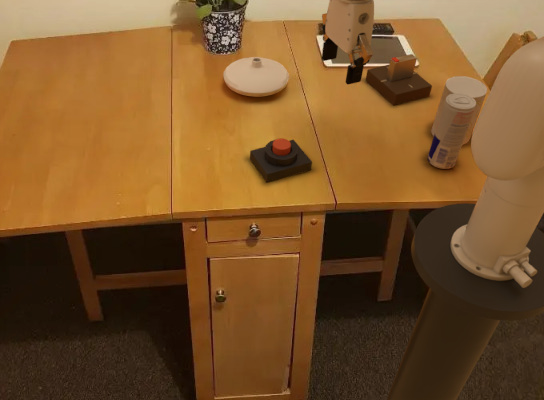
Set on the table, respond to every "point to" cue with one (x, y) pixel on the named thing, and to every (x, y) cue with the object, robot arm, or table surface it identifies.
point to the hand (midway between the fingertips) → (340, 70)
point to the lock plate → (398, 86)
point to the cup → (466, 87)
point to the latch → (401, 67)
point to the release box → (280, 162)
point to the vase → (256, 76)
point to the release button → (281, 147)
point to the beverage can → (451, 130)
